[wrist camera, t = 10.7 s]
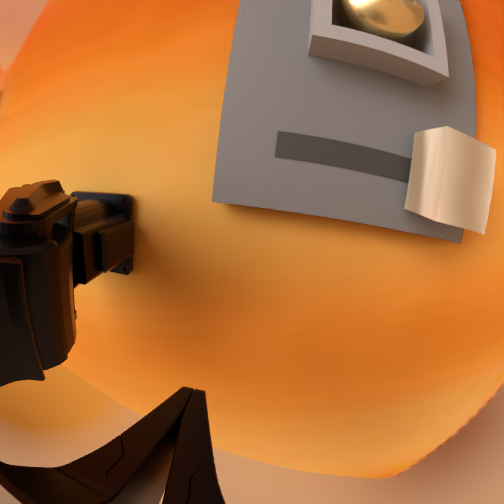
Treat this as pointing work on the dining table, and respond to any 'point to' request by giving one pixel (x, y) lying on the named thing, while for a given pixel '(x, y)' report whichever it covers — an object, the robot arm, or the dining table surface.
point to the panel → (338, 111)
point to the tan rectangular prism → (451, 178)
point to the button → (382, 17)
